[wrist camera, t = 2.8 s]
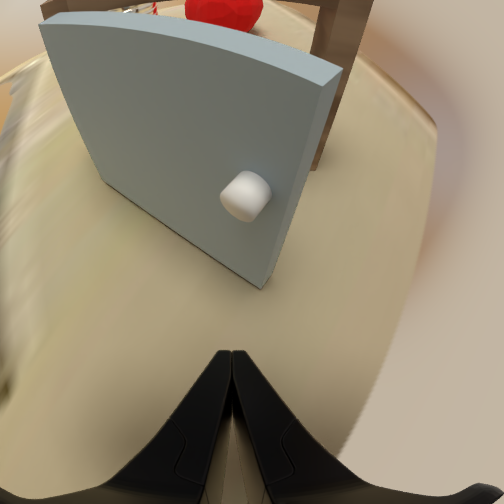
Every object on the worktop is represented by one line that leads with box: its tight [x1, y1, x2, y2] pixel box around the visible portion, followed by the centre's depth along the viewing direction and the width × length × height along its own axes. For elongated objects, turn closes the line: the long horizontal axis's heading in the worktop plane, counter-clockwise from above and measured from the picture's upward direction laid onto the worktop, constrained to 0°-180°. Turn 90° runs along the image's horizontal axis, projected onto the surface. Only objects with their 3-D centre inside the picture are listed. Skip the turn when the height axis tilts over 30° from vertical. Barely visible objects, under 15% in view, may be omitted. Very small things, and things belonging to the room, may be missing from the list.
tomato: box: [185, 0, 263, 33], centre depth 33 cm, size 12×12×11 cm
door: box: [39, 11, 343, 289], centre depth 15 cm, size 3×17×16 cm, turn 56°
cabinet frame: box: [40, 0, 374, 170], centre depth 19 cm, size 4×20×18 cm, turn 91°
